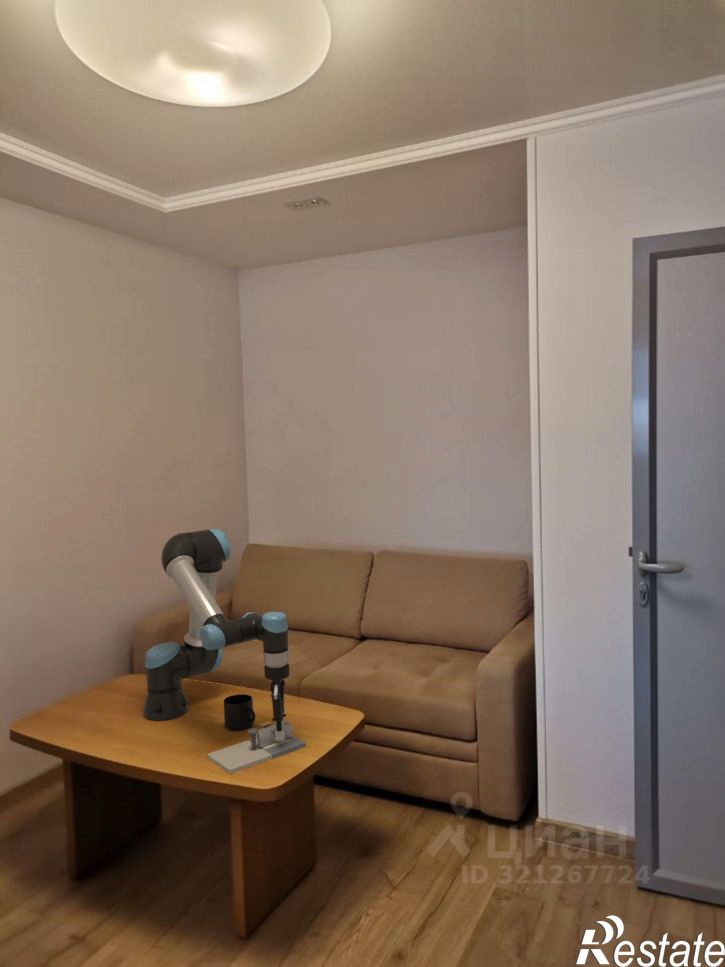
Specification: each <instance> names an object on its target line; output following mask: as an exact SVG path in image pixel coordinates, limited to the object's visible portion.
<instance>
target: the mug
mask: <svg viewBox="0 0 725 967" xmlns="http://www.w3.org/2000/svg"><path fill="white" fill-rule="evenodd" d="M253 699H254V698H253V696H251V695H249V694H243V693H241V694H240V693H238V694H237V693H236V694H233V695H229V696H227V697H225V698H224V699H223V714H224V716H223V717H224V727H225V729H226V730H228V731H230V732H243V731H245V730H247V731H248V730H249V729H252V727H253V726H254V723H255V722H254V721H255V720H256V713H255V711H254V705H253V703H254V702H253Z"/></svg>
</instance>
